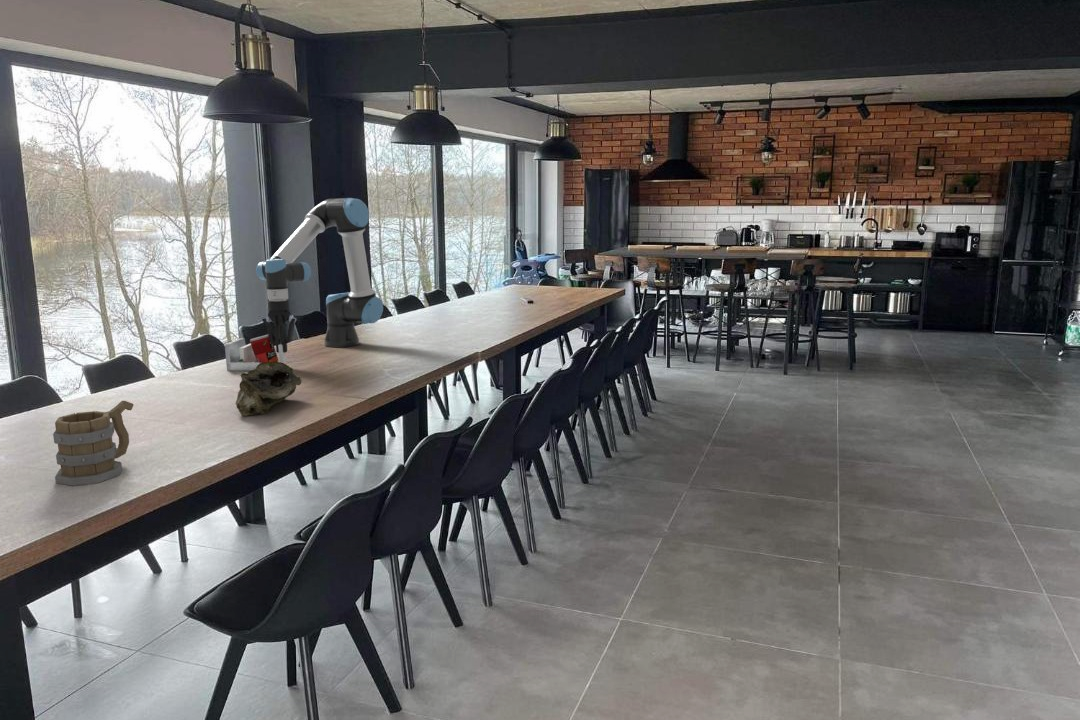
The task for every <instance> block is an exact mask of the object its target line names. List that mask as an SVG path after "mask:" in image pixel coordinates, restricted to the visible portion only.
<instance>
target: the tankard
mask: <svg viewBox="0 0 1080 720" xmlns="http://www.w3.org/2000/svg"><path fill="white" fill-rule="evenodd" d="M133 407H134V403H132V402H130V401H127V400H121V401H120V402H119V403H117V404H116V406H114V407H113V408H111V409H110V410H108V411H98V410H95V411H94V410H92V411H82V412H76V413H70V414H66V415H63V416H59V417H57V419H56V421H54V425H55V430H54V432H53V433H52V436H53V443H54V444H57V448H58V451H57V452H56V454H55V458H56V464H57V465H58V466H59V465H60V468H59V469H58V471H57V473H56V474H55V476H54V480H55V483H56V484H59V485H66V486H70V487H77V486H84V485H94V484H100V483H103V482H105V481H109V480H112V479H113V478H116V477H119V476H120V475H121V472H122V469H123V466H122V464H123V463H122V461H118V460H117V459H118V458H120V457H122V456H124V455H126V454H127V450H128V448H129V445H130V435H129V433H128V430H127V428H126V426H125V424H124V419H123V415H122V413H124V411H125V410H127V411H132V409H133ZM114 433H116V435H117V436H118V445H117V443H116V442H114V441H113V436H114Z"/></svg>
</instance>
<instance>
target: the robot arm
mask: <svg viewBox="0 0 1080 720" xmlns="http://www.w3.org/2000/svg"><path fill="white" fill-rule="evenodd" d="M369 219H370V212H369V209H368V206H367V205H366V203H365V202H364V201H363V200H361V199H359V198H353V197H344V198H343V197H342V198H341V197H340V198H328V199H325V200H323V201H321V202H319V203H318V204H317V205H315V206H314V207H313V208H312V209H310V210H309V211H308V213H307V214H306V215H305V216H304V220H303V222H302V223H301V224H299V226H298V227H297V228H296V229H295V231H294V232H293V233H292V234H291V235H290V236H289V237H288V238H287V239H286V240H285V241H284V243H283V244H282V245H281V246H280V247H279V248H278V250H276V251H275V253H274V254H273V255H272V256H271V257H270V258H268V259H265V260H263V261H261V262H259V263H258V264H257V265H256V268H255V274H256V277H258V279H260V280H262V281H266V293H267V295H266V296H267V300H268V301H267V307H268V314H267V316H266V317H264V318H262V319H261V320H262V322H263V324H264V326H265V328H266V331H267V335H269V338H270V341H271V343H273V344H274V345H275V351H276V354H277V353H278V362H282V363H284V362H285V361H286V360H287V357H286V353H288V344H289V343H291V342H293V337H294V336H293V335H294V330H295V329H294V328H295V326H296V325H295V324H296V322H297V320H298V319H297V317H294V316H292V315H291V312H290V302H289V300H288V299H289V288H288V287H289V286H288V285H289V284H291V283H302V282H307V281H308V280H310V278H311V277H312V268H311V266H310V265H309V264H308V263H307V262H303V261H302V262H301V261H298V262H295V261H296V259H297V258H298V257H300V255H301V254H302V253H303V252H304V250H305V249H307V247H308V246H309V245H310V244H311V243H312V242H313V241H314V239H315V238H316V237H317V236H318V234H321V233H324V232H325V231H326V229H328V228H329V229H330V228H331V227H336V231H337V233H338V235H340V236H341V239H342V245H343V251H344V256H345V263H346V268H347V273H348V280H349V286H350V292H349V291H347V292H341V293H335V294H328V295H327V297H326V298H325V309H326V310H325V311H326V320H327V329H326V334H325V337H324V343H323V344H324V346H326V347H331V348H344V347H345V348H347V347H353V346H358V345H360V339H359V336H358V333H357V330H356V327H355V323H357V324H365V325H366V324H367V325H368V324H375V323H377V322H378V321H379V320H380V319H381V318H382V317H381V316H382V315H383V312H384V303H383V301H382V299H381V298H379V297H377V296H376V295H377V294H376V291H375V290H374V289H373V288H372V286H371V280H370V274H369V273H370V272H369V268H368V267H369V265H368V261H367V253H366V247H365V243H364V241H365V240H364V235H363V233H364V232H365V231H366V226H367V225H368V223H369ZM288 321H289V325H288V324H287V322H288ZM271 322H272V323H273V324H272V323H271ZM272 325H273V326H272ZM287 325H288V329H287ZM273 328H274V329H273Z"/></svg>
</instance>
